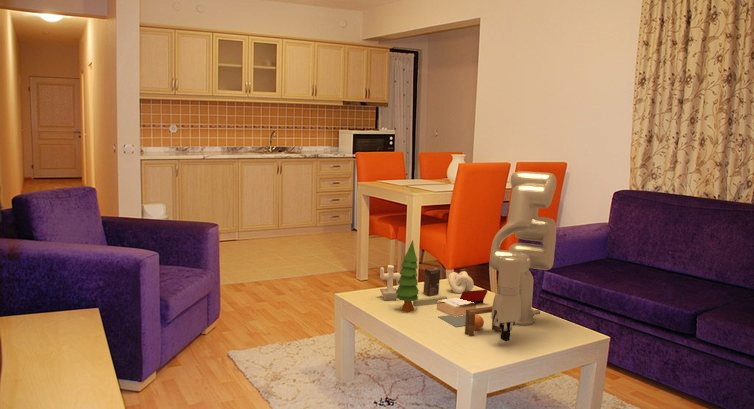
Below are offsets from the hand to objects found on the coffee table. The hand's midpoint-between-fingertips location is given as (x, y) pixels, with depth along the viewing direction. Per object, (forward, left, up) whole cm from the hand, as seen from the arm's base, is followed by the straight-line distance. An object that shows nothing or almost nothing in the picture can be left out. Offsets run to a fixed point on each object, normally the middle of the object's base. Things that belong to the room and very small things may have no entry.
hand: (505, 340), depth 217 cm
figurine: (+13, -64, -2) cm, 65 cm away
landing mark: (0, -28, -2) cm, 28 cm away
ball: (0, -17, +1) cm, 17 cm away
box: (-8, -63, -2) cm, 64 cm away
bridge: (0, -13, -2) cm, 13 cm away
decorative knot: (-23, -63, -2) cm, 67 cm away
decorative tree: (+14, -47, -2) cm, 49 cm away
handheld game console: (-17, -46, -2) cm, 49 cm away
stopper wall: (0, -51, -2) cm, 51 cm away
